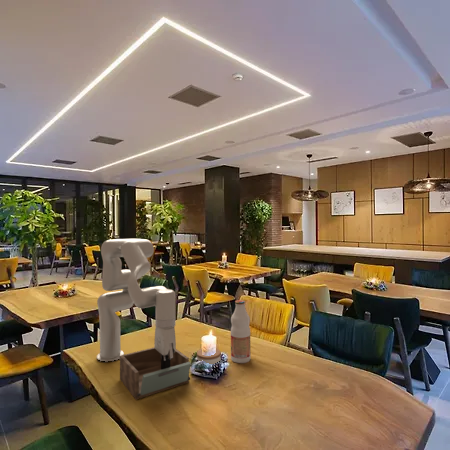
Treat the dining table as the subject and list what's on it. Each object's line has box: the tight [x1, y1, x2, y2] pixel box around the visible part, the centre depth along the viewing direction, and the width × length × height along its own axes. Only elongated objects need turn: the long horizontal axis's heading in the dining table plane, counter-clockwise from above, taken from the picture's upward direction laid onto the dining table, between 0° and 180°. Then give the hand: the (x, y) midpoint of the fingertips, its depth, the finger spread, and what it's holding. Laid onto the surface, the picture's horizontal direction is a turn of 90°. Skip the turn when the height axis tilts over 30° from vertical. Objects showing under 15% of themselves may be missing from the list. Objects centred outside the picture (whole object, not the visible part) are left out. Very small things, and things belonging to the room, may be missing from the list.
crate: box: [119, 346, 191, 400], centre depth 133 cm, size 21×22×10 cm
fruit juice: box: [230, 299, 252, 364], centre depth 154 cm, size 9×9×28 cm
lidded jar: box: [196, 348, 222, 364], centre depth 144 cm, size 11×11×9 cm
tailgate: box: [140, 361, 191, 395], centre depth 124 cm, size 2×19×8 cm, turn 125°
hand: (165, 369), depth 125 cm, fingers closed
